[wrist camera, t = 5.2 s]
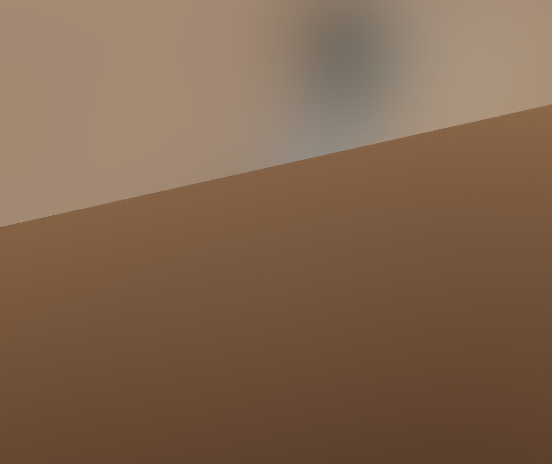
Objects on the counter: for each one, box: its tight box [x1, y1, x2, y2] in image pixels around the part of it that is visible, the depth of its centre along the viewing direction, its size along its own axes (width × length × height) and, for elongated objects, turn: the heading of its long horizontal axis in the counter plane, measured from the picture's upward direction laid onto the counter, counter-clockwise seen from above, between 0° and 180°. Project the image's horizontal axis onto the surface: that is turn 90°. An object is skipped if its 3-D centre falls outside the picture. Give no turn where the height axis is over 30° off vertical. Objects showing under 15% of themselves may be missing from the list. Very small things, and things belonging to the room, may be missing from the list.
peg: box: [0, 105, 552, 464], centre depth 8 cm, size 4×4×12 cm
